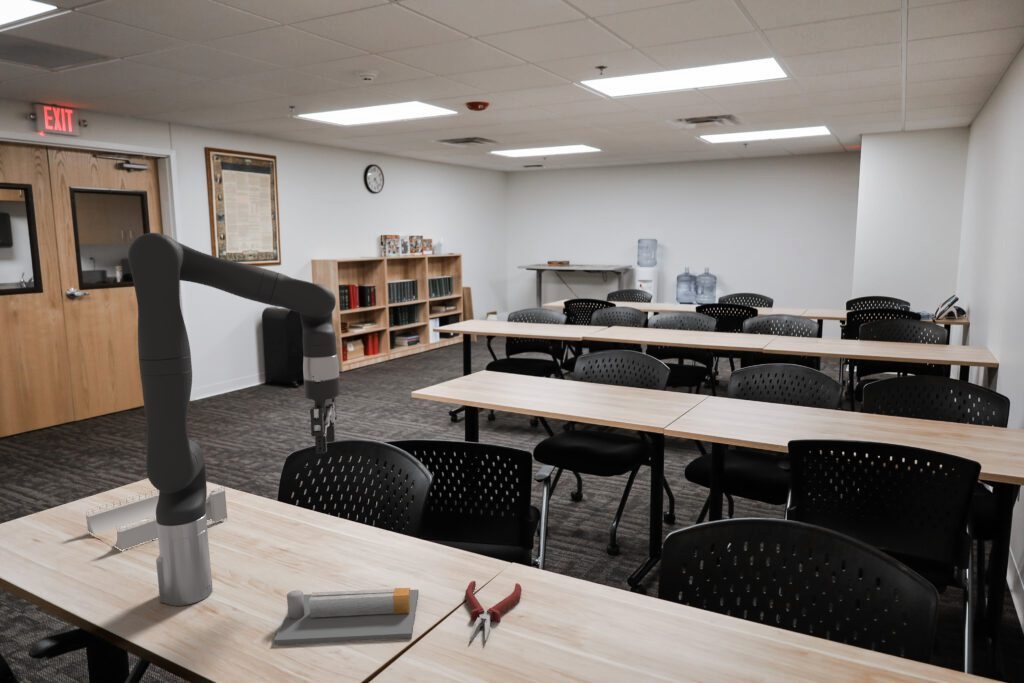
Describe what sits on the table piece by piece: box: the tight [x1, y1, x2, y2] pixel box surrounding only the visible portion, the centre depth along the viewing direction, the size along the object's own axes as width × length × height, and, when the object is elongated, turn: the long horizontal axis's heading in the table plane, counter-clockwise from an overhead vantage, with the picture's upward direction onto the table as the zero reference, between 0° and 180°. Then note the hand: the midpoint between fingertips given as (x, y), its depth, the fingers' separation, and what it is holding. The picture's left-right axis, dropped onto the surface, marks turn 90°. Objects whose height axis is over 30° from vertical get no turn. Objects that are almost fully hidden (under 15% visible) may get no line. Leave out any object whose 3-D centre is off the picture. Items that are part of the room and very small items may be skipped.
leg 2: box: [309, 591, 410, 618], centre depth 131 cm, size 19×1×4 cm, turn 94°
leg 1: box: [311, 587, 411, 607], centre depth 132 cm, size 19×1×4 cm, turn 93°
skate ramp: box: [85, 485, 228, 550], centre depth 176 cm, size 25×23×10 cm
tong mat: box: [273, 589, 419, 646], centre depth 131 cm, size 25×16×6 cm, turn 93°
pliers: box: [464, 580, 522, 643], centre depth 132 cm, size 12×20×3 cm, turn 172°
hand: (325, 447), depth 149 cm, fingers open, 8 cm apart
